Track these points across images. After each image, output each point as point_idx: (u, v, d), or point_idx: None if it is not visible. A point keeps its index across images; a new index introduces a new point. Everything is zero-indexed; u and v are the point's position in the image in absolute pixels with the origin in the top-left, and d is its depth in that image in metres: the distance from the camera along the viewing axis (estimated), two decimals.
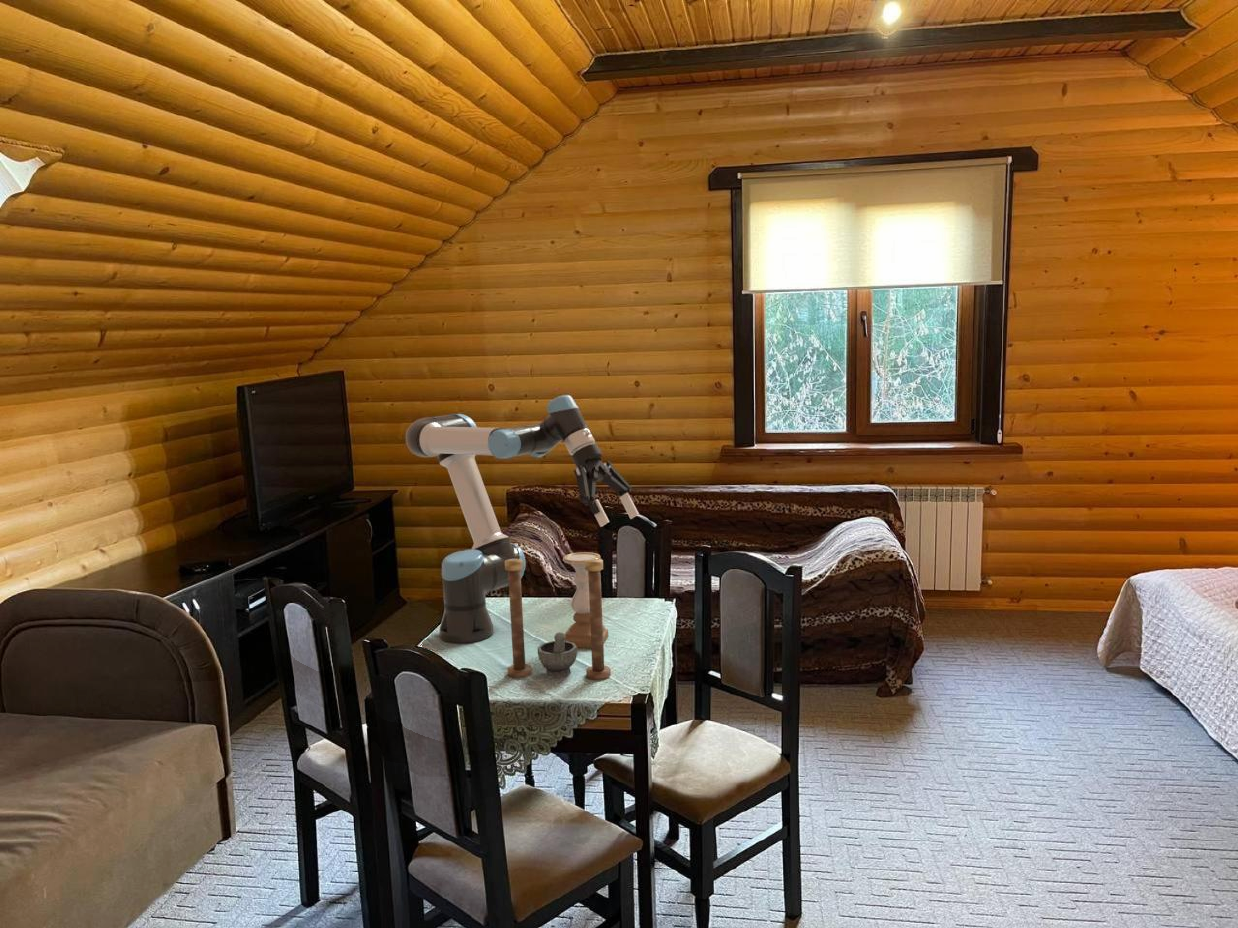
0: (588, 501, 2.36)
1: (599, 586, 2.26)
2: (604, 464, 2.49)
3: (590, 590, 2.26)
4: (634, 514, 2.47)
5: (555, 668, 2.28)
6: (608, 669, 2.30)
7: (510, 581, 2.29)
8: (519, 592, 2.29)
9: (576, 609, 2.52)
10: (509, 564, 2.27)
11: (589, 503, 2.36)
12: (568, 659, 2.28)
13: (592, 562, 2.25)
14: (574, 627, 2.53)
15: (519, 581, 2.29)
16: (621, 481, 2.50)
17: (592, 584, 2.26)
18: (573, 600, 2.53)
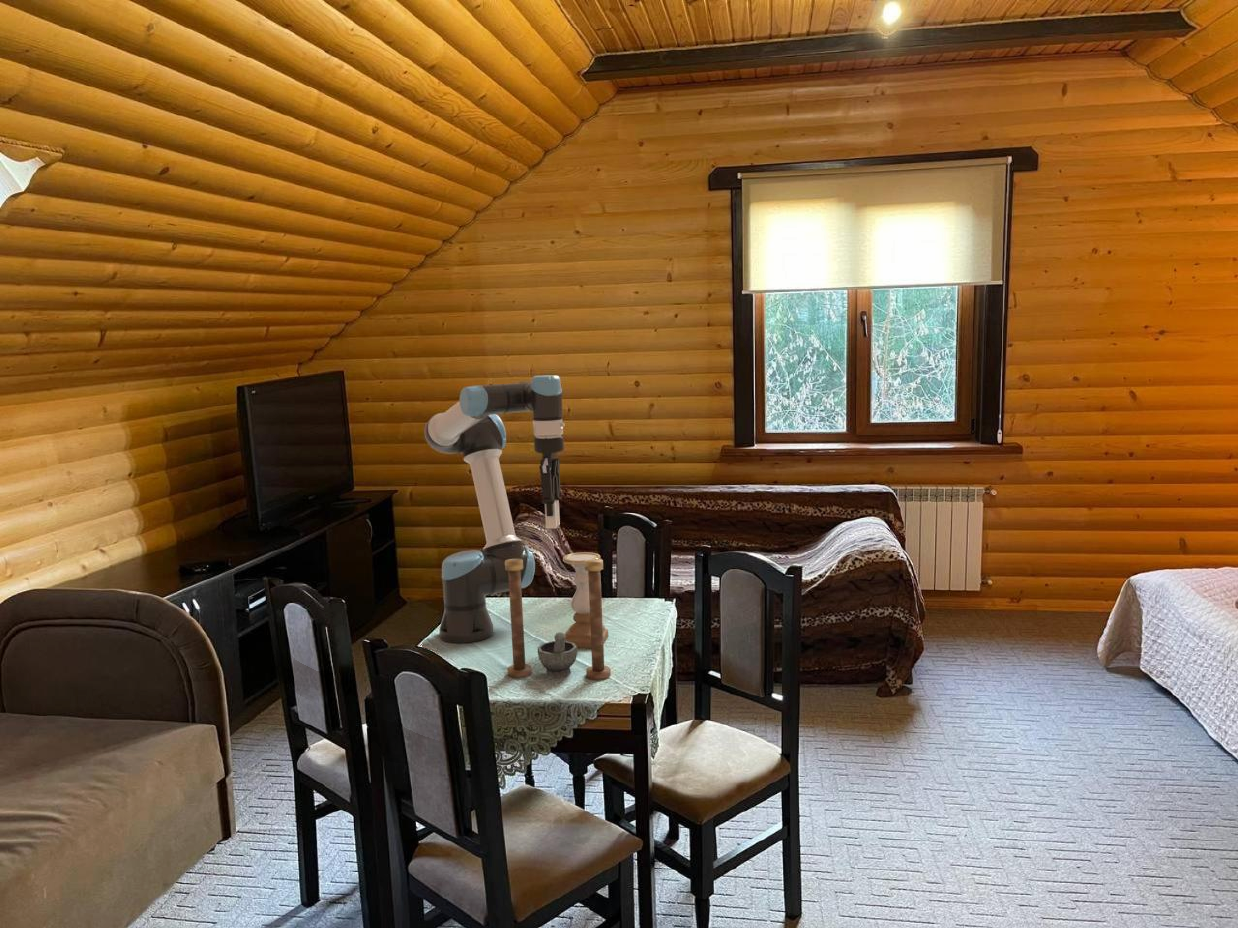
0: (548, 503, 2.36)
1: (599, 586, 2.26)
2: None
3: (590, 590, 2.26)
4: None
5: (555, 668, 2.28)
6: (608, 669, 2.30)
7: (510, 581, 2.29)
8: (519, 592, 2.29)
9: (576, 609, 2.52)
10: (509, 564, 2.27)
11: (548, 504, 2.37)
12: (568, 659, 2.28)
13: (592, 562, 2.25)
14: (574, 627, 2.53)
15: (520, 581, 2.29)
16: (557, 482, 2.44)
17: (592, 584, 2.26)
18: (573, 600, 2.53)
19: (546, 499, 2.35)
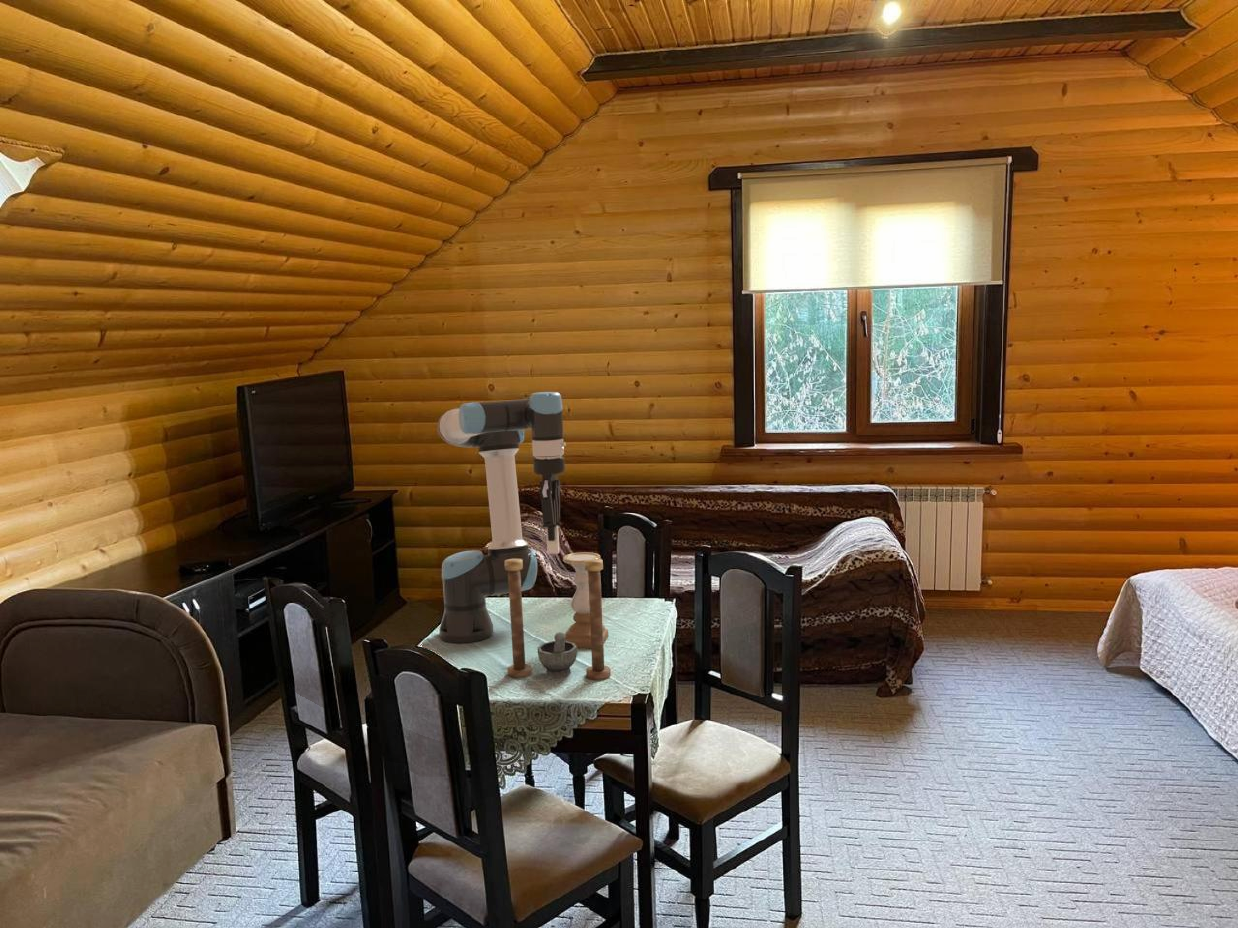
0: (550, 527, 2.24)
1: (599, 586, 2.26)
2: None
3: (590, 590, 2.26)
4: None
5: (555, 668, 2.28)
6: (608, 669, 2.30)
7: (509, 581, 2.29)
8: (519, 592, 2.29)
9: (576, 609, 2.52)
10: (509, 564, 2.27)
11: (549, 528, 2.24)
12: (568, 659, 2.28)
13: (592, 562, 2.25)
14: (574, 627, 2.53)
15: (519, 581, 2.29)
16: None
17: (592, 584, 2.26)
18: (573, 600, 2.53)
19: (547, 523, 2.23)
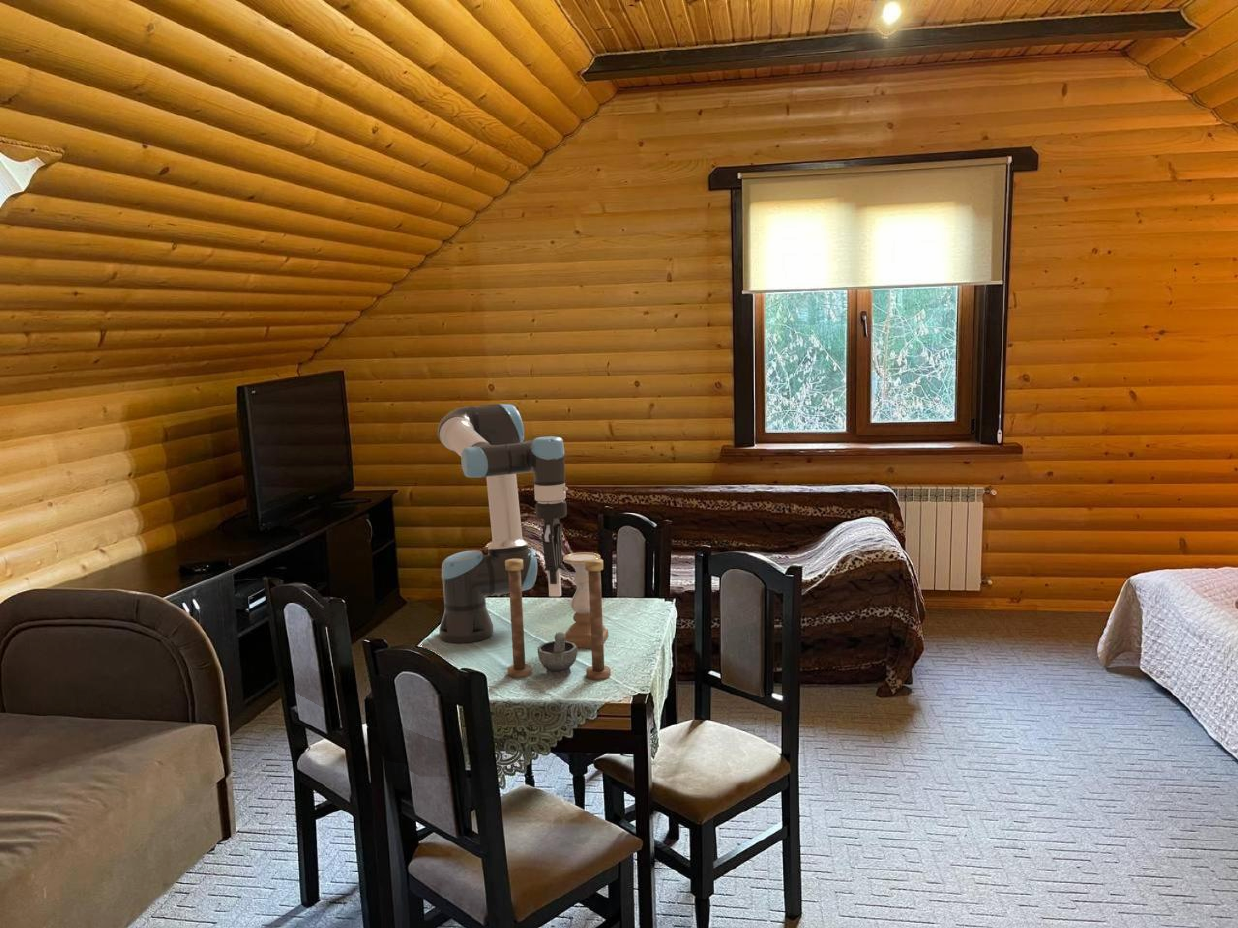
0: (552, 570, 2.26)
1: (599, 586, 2.26)
2: None
3: (590, 590, 2.26)
4: None
5: (555, 668, 2.28)
6: (608, 669, 2.30)
7: (510, 581, 2.29)
8: (519, 592, 2.29)
9: (576, 609, 2.52)
10: (509, 564, 2.27)
11: (551, 572, 2.26)
12: (568, 659, 2.28)
13: (592, 562, 2.25)
14: (574, 627, 2.53)
15: (520, 581, 2.29)
16: None
17: (593, 585, 2.26)
18: (573, 600, 2.53)
19: (549, 567, 2.24)
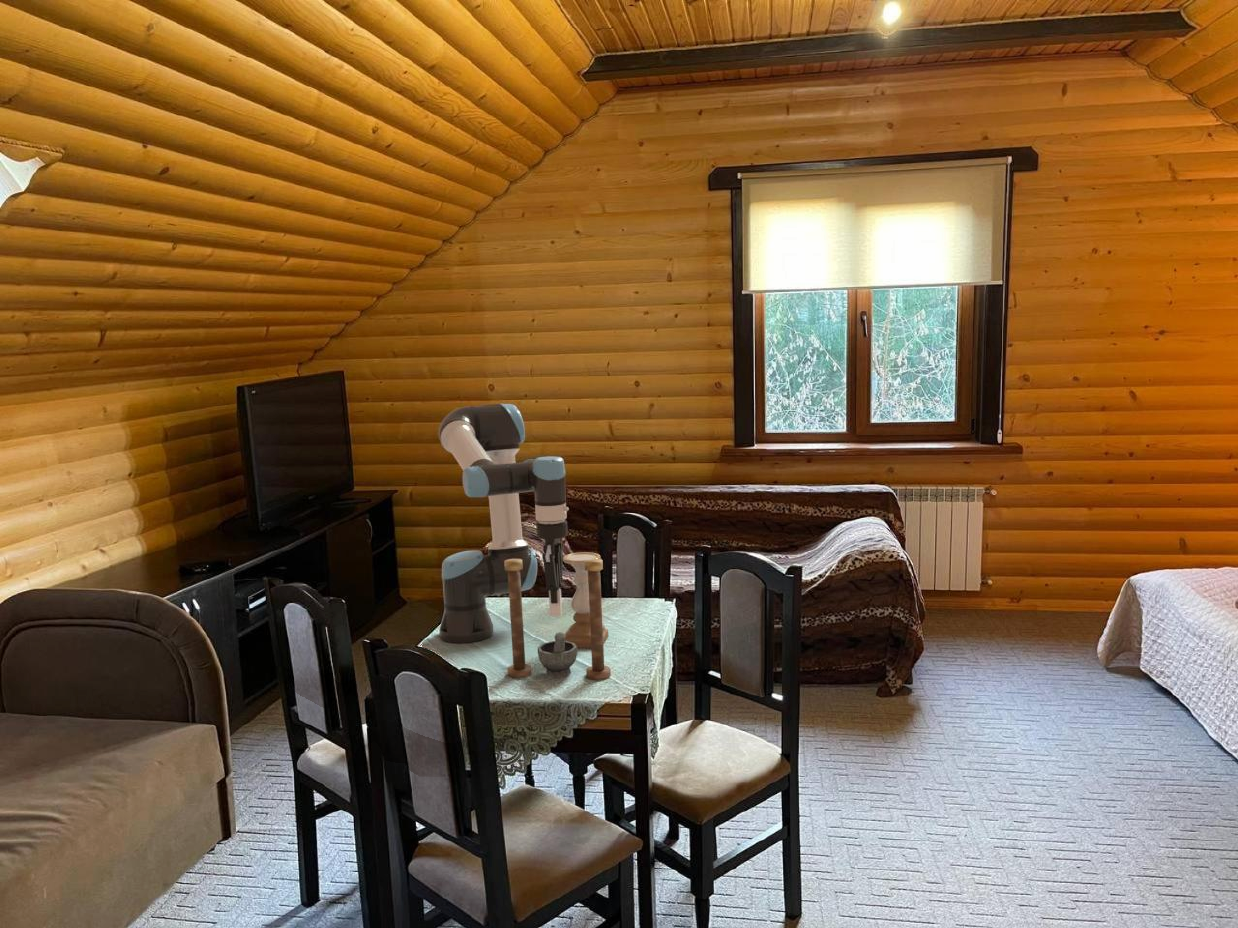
0: (552, 590, 2.26)
1: (599, 586, 2.26)
2: None
3: (590, 590, 2.26)
4: None
5: (555, 668, 2.28)
6: (608, 669, 2.30)
7: (509, 581, 2.29)
8: (519, 592, 2.29)
9: (576, 609, 2.52)
10: (509, 564, 2.27)
11: (552, 591, 2.27)
12: (568, 659, 2.28)
13: (592, 562, 2.25)
14: (574, 627, 2.53)
15: (519, 581, 2.29)
16: (560, 568, 2.31)
17: (592, 584, 2.26)
18: (573, 600, 2.53)
19: (550, 586, 2.25)
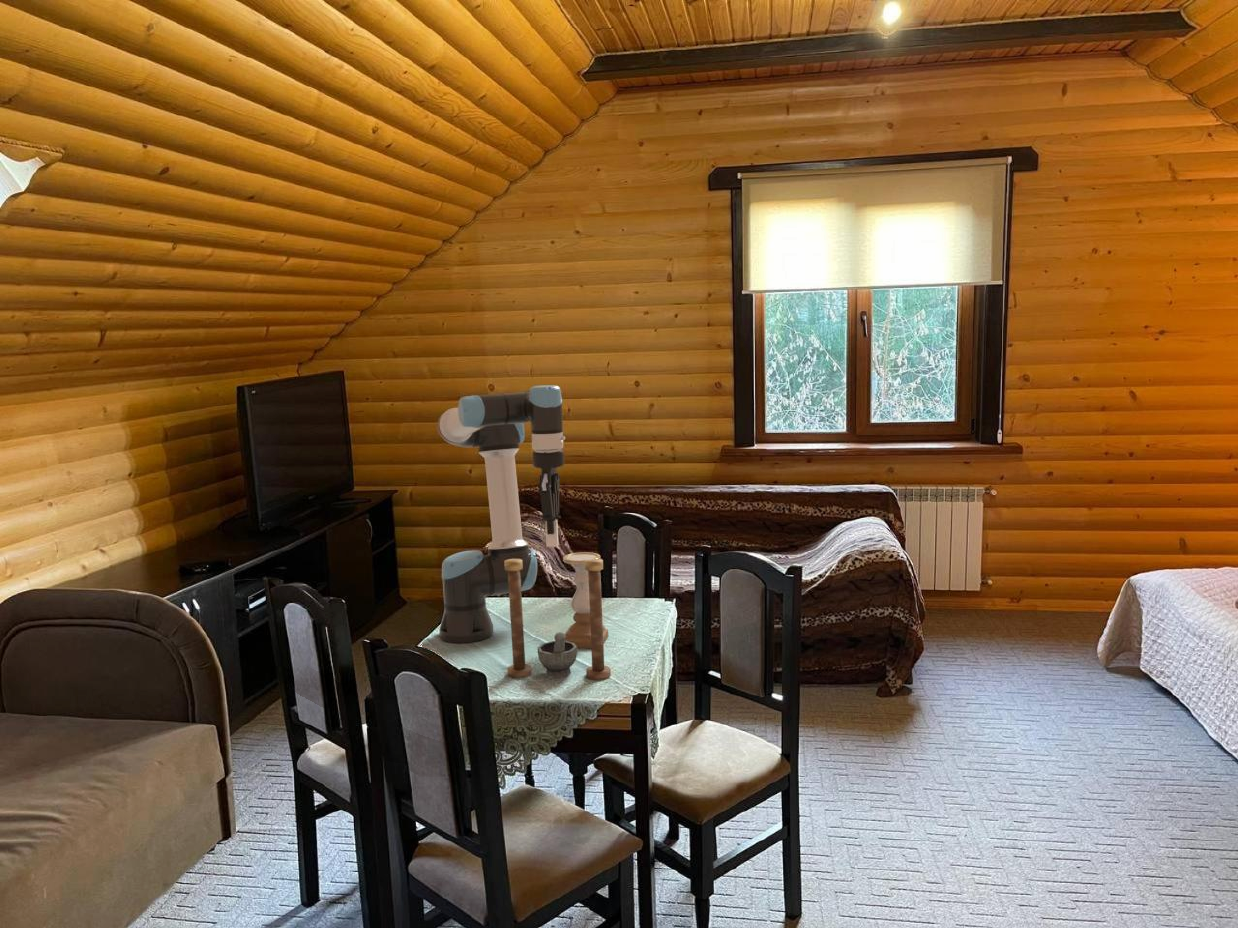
0: (549, 520, 2.24)
1: (599, 586, 2.26)
2: None
3: (590, 590, 2.26)
4: None
5: (555, 668, 2.28)
6: (608, 669, 2.30)
7: (509, 581, 2.29)
8: (519, 592, 2.29)
9: (576, 609, 2.52)
10: (509, 564, 2.27)
11: (548, 522, 2.25)
12: (568, 659, 2.28)
13: (592, 562, 2.25)
14: (574, 627, 2.53)
15: (519, 582, 2.29)
16: (556, 500, 2.29)
17: (592, 584, 2.26)
18: (573, 600, 2.53)
19: (547, 516, 2.23)
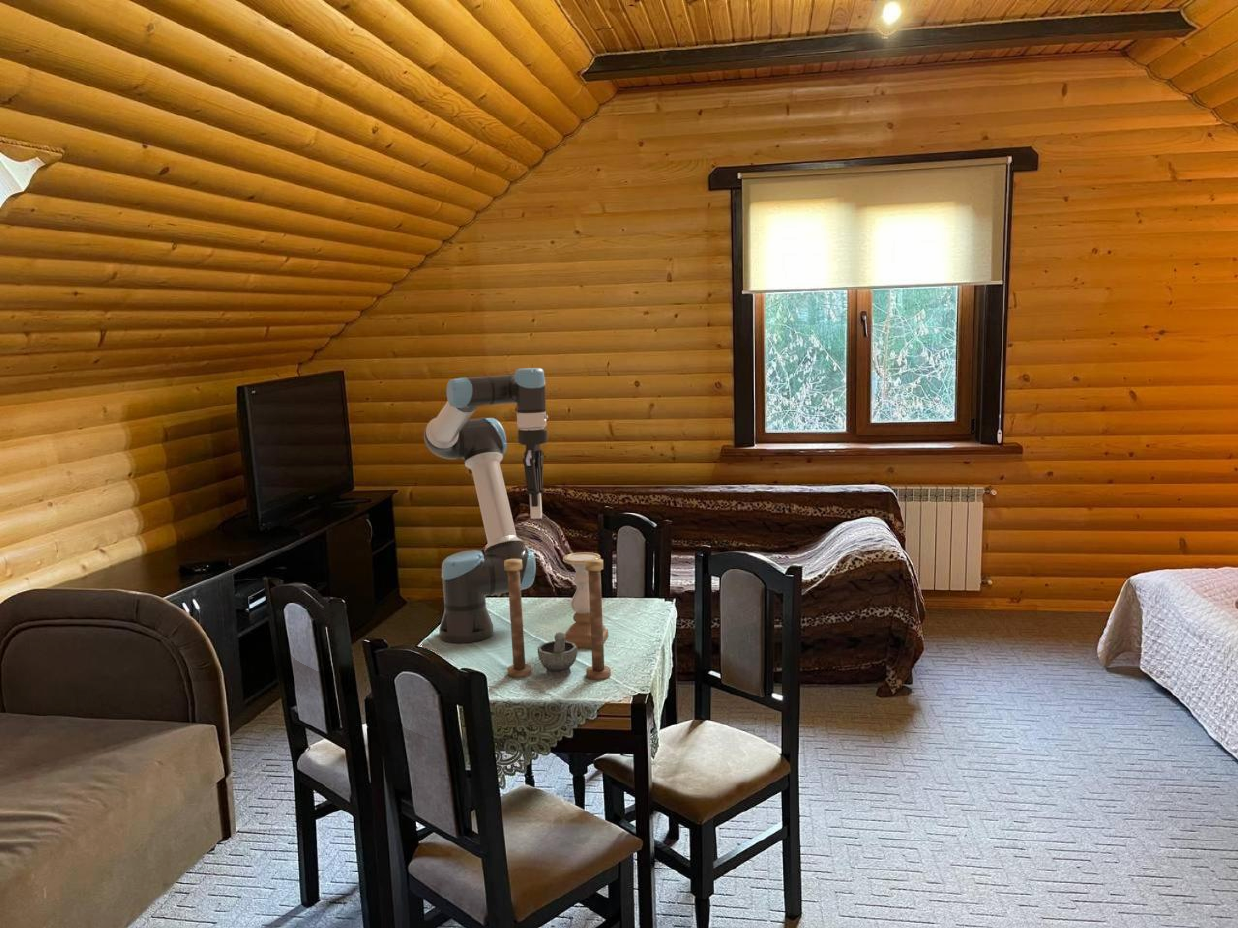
0: (533, 493, 2.41)
1: (599, 586, 2.26)
2: None
3: (590, 590, 2.26)
4: None
5: (555, 668, 2.28)
6: (608, 669, 2.30)
7: (509, 581, 2.29)
8: (518, 592, 2.29)
9: (576, 609, 2.52)
10: (508, 564, 2.27)
11: (532, 495, 2.41)
12: (568, 659, 2.28)
13: (592, 562, 2.25)
14: (574, 627, 2.53)
15: (519, 581, 2.29)
16: (540, 475, 2.46)
17: (593, 584, 2.26)
18: (573, 600, 2.53)
19: (531, 490, 2.40)
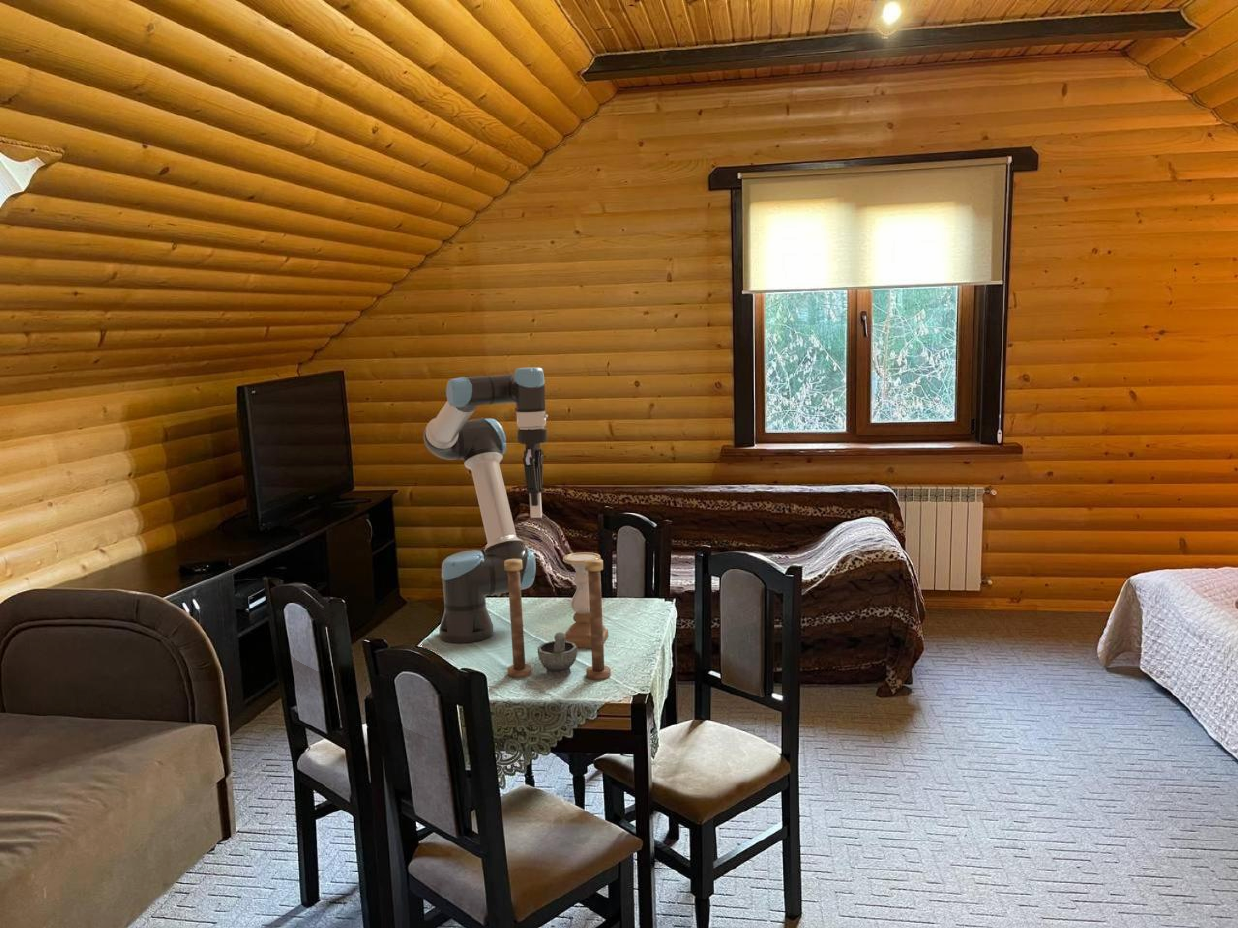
0: (533, 493, 2.41)
1: (599, 586, 2.26)
2: None
3: (590, 590, 2.26)
4: None
5: (555, 668, 2.28)
6: (608, 669, 2.30)
7: (509, 581, 2.29)
8: (519, 592, 2.29)
9: (576, 609, 2.52)
10: (508, 564, 2.27)
11: (532, 494, 2.42)
12: (568, 659, 2.28)
13: (592, 562, 2.25)
14: (574, 627, 2.53)
15: (519, 582, 2.29)
16: None
17: (592, 585, 2.25)
18: (573, 600, 2.53)
19: (531, 489, 2.40)
